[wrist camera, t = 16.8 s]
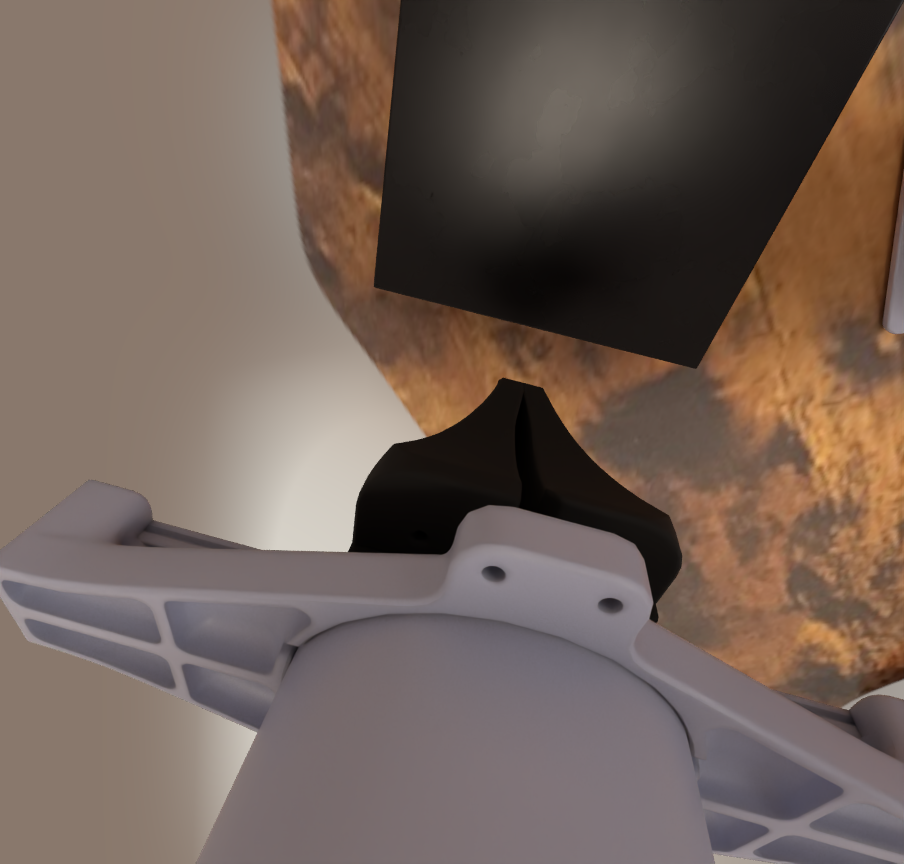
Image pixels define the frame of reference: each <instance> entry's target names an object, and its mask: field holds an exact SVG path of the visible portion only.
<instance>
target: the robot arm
mask: <svg viewBox="0 0 904 864" xmlns="http://www.w3.org/2000/svg"><path fill="white" fill-rule="evenodd" d="M883 327H884V328H885V330H887V331H888V332H890V333H893V334H901V333H904V171H903V178H902V185H901V192H900V200H899V207H898V214H897V222H896V229H895V236H894V243H893V251H892V258H891V265H890V273H889V280H888V287H887V294H886V302H885V309H884V316H883ZM681 564H682V553H681V550H680V547H679V543H678V539H677V536H676V532H675V529H674V527H673V524H672V522H671V519H670V517H669V515H667V514H666V513H664V512H662V511H660V510H659V509H657V508H655V507H654V506H652V505H650V504H649V503H647V502H645V501H643V500H642V499H640V498H639V497H637V496H636V495H634V494H633V493H631V492H630V491H629V490H627V489H626V488H624V487H623V486H622V485H620V484H619V483H618V482H617V481H615V480H614V479H613V478H612V477H610V476H609V475H608V474H607V473H606V472H605V471H604V470H602V469H601V468H600V467H599V466H598V465H597V464H596V463H595V462H594V461H593V460H592V459H591V458H590V457H589V456H588V455H587V454H586V453H585V451H584V450H583V449H582V448H581V447H580V446H579V445H578V443H577V442H576V441H575V440H574V438H573V437H572V436H571V434H570V433H569V432H568V430H567V429H566V427H565V426H564V424H563V423H562V421H561V420H560V418H559V416H558V415H557V413H556V411H555V410H554V408H553V406H552V404H551V402H550V400H549V398H548V397H547V395H546V393H545V391H544V389H543V388H541V387H537V386H533V385H530V384H526V383H522V382H518V381H514V380H510V379H506V378H502V379H500V380H499V381H498V384H497V386H496V387H495V389H494V390H493V391H492V393H491V394H490V395H489V396H488V397H487V399H486V400H485V401H484V402H483V403H482V404H481V405H480V406H479V407H478V408H476V409H475V410H474V411H473V412H472V413H471V414H469V415H468V416H467V417H466V418H464V419H463V420H461V421H460V422H458V423H457V424H455V425H453V426H452V427H450V428H448V429H446V430H444V431H442V432H440V433H438V434H435V435H432V436H429V437H426V438H423V439H419V440H415V441H409V442H403V443H396V444H394V445H392V447H391V448H390V449H389V450H388V451H387V452H386V453H385V454H384V455H383V457H382V458H381V459H380V460H379V461H378V463H377V464H376V465H375V467H374V468H373V469H372V471H371V472H370V474H369V475H368V477H367V479H366V481H365V483H364V485H363V487H362V489H361V491H360V493H359V496H358V500H357V503H356V511H355V521H354V531H353V540H352V544H351V547H350V549H349V551H348V552H317V551H281V550H280V551H279V550H260V549H256V548H253V547H249V546H245V545H241V544H238V543H234V542H231V541H227V540H223V539H220V538H216V537H212V536H209V535H205V534H201V533H198V532H194V531H190V530H187V529H183V528H179V527H176V526H172V525H168V524H165V523H161V522H157V521H154V520H153V518H152V510H151V507H150V504H149V502H148V500H147V499H146V498H145V497H144V496H142V495H141V494H139V493H137V492H135V491H133V490H128V489H125V488H121V487H118V486H114V485H110V484H107V483H103V482H99V481H96V480H88V481H86V482H85V483H84V484H83V485H81V486H80V487H79V488H78V489H76V490H75V491H74V492H73V493H71V494H70V495H69V496H68V497H66V498H65V499H64V500H62V501H61V502H60V503H59V504H58V505H56V506H55V507H54V508H52V509H51V510H50V511H49V512H47V513H46V514H45V515H44V516H42V517H41V518H40V519H38V520H37V521H36V522H35V523H34V524H32V525H31V526H30V527H29V528H27V529H26V530H25V531H23V532H22V533H21V534H20V535H18V536H17V537H16V538H15V539H13V540H12V541H11V542H10V543H8V544H7V545H6V546H4V547H3V548H2V549H1V550H0V598H1V599H2V601H3V603H4V604H5V606H6V607H7V609H8V610H9V612H10V614H11V615H12V617H13V618H14V620H15V622H16V623H17V625H18V626H19V628H20V630H21V631H22V633H23V634H24V636H25V638H26V639H27V640H28V641H29V642H32V643H36V644H39V645H42V646H45V647H49V648H52V649H55V650H58V651H62V652H65V653H68V654H71V655H74V656H77V657H80V658H83V659H85V660H88V661H91V662H93V663H96V664H99V665H102V666H104V667H107V668H110V669H112V670H115V671H117V672H119V673H122V674H124V675H127V676H129V677H132V678H134V679H137V680H139V681H141V682H144V683H146V684H148V685H151V686H153V687H155V688H157V689H160V690H162V691H164V692H166V693H169V694H171V695H173V696H175V697H178V698H180V699H182V700H185V701H187V702H189V703H191V704H194V705H196V706H198V707H201V708H203V709H205V710H207V711H210V712H212V713H214V714H217V715H219V716H221V717H223V718H226V719H228V720H230V721H232V722H235V723H237V724H239V725H242V726H244V727H246V728H248V729H251V730H253V731H256V732H257V735H256V737H255V739H254V741H253V744H252V746H251V748H250V750H249V752H248V754H247V756H246V758H245V760H244V762H243V765H242V767H241V769H240V771H239V773H238V775H237V777H236V779H235V781H234V784H233V786H232V788H231V790H230V792H229V794H228V796H227V798H226V801H225V803H224V805H223V807H222V809H221V811H220V814H219V816H218V818H217V820H216V822H215V824H214V826H213V828H212V830H211V832H210V834H209V837H208V839H207V841H206V843H205V845H204V847H203V849H202V851H201V853H200V856H199V858H198V860H197V862H196V864H715V861H714V856H713V854H719V855H724V856H731V857H737V858H744V859H750V860H757V861H763V862H770V863H776V864H904V700H902V699H899V698H895V697H891V696H886V695H872V696H868V697H865V698H863V699H861V700H860V701H858V702H857V703H856V704H855V705H854V706H853V707H851V709H850V710H846V709H842V708H838V707H835V706H831V705H827V704H824V703H820V702H816V701H813V700H809V699H805V698H802V697H798V696H794V695H791V694H787V693H783V692H780V691H776V690H772V689H770V688H768V687H767V686H765V685H763V684H761V683H760V682H758V681H756V680H754V679H753V678H751V677H749V676H747V675H746V674H744V673H742V672H740V671H739V670H737V669H735V668H733V667H732V666H730V665H728V664H726V663H725V662H723V661H721V660H719V659H718V658H716V657H714V656H712V655H711V654H709V653H707V652H705V651H704V650H702V649H700V648H698V647H697V646H695V645H693V644H691V643H690V642H688V641H686V640H684V639H683V638H681V637H679V636H677V635H676V634H674V633H672V632H670V631H669V630H667V629H665V628H664V627H662V626H660V625H658V624H657V622H658V612H657V608H656V603H657V602H658V600H659V599H660V598H661V597H662V595H663V594H664V593H665V591H666V590H667V589H668V587H669V586H670V585H671V583H672V582H673V581H674V579H675V578H676V576H677V574H678V572H679V571H680V569H681Z"/></svg>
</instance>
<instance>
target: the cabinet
mask: <svg viewBox="0 0 904 864" xmlns="http://www.w3.org/2000/svg"><path fill="white" fill-rule="evenodd" d="M903 2H904V0H401V3H400V14H399V24H398V35H397V46H396V56H395V67H394V77H393V88H392V98H391V109H390V119H389V130H388V140H387V151H386V161H385V172H384V182H383V193H382V203H381V214H380V224H379V235H378V246H377V256H376V267H375V277H374V287H375V288H379V289H383V290H387V291H390V292H394V293H398V294H402V295H406V296H410V297H414V298H418V299H422V300H426V301H430V302H434V303H438V304H442V305H446V306H450V307H454V308H458V309H462V310H466V311H469V312H473V313H477V314H481V315H485V316H489V317H493V318H497V319H501V320H505V321H509V322H513V323H517V324H521V325H525V326H529V327H533V328H537V329H541V330H544V331H548V332H552V333H556V334H560V335H564V336H568V337H572V338H576V339H580V340H584V341H588V342H592V343H596V344H600V345H604V346H608V347H612V348H616V349H620V350H623V351H627V352H631V353H635V354H639V355H643V356H647V357H651V358H655V359H659V360H663V361H667V362H671V363H675V364H679V365H683V366H687V367H691V368H695V369H696V368H697V367H698V365H699V364H700V362H701V360H702V358H703V356H704V355H705V353H706V351H707V349H708V348H709V346H710V344H711V342H712V340H713V339H714V337H715V335H716V333H717V332H718V330H719V328H720V326H721V325H722V323H723V321H724V319H725V317H726V316H727V314H728V312H729V310H730V309H731V307H732V305H733V303H734V301H735V300H736V298H737V296H738V294H739V293H740V291H741V289H742V287H743V286H744V284H745V282H746V280H747V278H748V277H749V275H750V273H751V271H752V270H753V268H754V266H755V264H756V262H757V261H758V259H759V257H760V255H761V254H762V252H763V250H764V248H765V246H766V245H767V243H768V241H769V239H770V238H771V236H772V234H773V232H774V231H775V229H776V227H777V225H778V223H779V222H780V220H781V218H782V216H783V215H784V213H785V211H786V209H787V207H788V206H789V204H790V202H791V200H792V199H793V197H794V195H795V193H796V192H797V190H798V188H799V186H800V184H801V183H802V181H803V179H804V177H805V176H806V174H807V172H808V170H809V168H810V167H811V165H812V163H813V161H814V160H815V158H816V156H817V154H818V153H819V151H820V149H821V147H822V145H823V144H824V142H825V140H826V138H827V137H828V135H829V133H830V131H831V129H832V128H833V126H834V124H835V122H836V121H837V119H838V117H839V115H840V114H841V112H842V110H843V108H844V106H845V105H846V103H847V101H848V99H849V98H850V96H851V94H852V92H853V90H854V89H855V87H856V85H857V83H858V82H859V80H860V78H861V76H862V74H863V73H864V71H865V69H866V67H867V66H868V64H869V62H870V60H871V59H872V57H873V55H874V53H875V51H876V50H877V48H878V46H879V44H880V43H881V41H882V39H883V37H884V35H885V34H886V32H887V30H888V28H889V27H890V25H891V23H892V21H893V20H894V18H895V16H896V14H897V12H898V11H899V9H900V7H901V5H902V4H903Z"/></svg>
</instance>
